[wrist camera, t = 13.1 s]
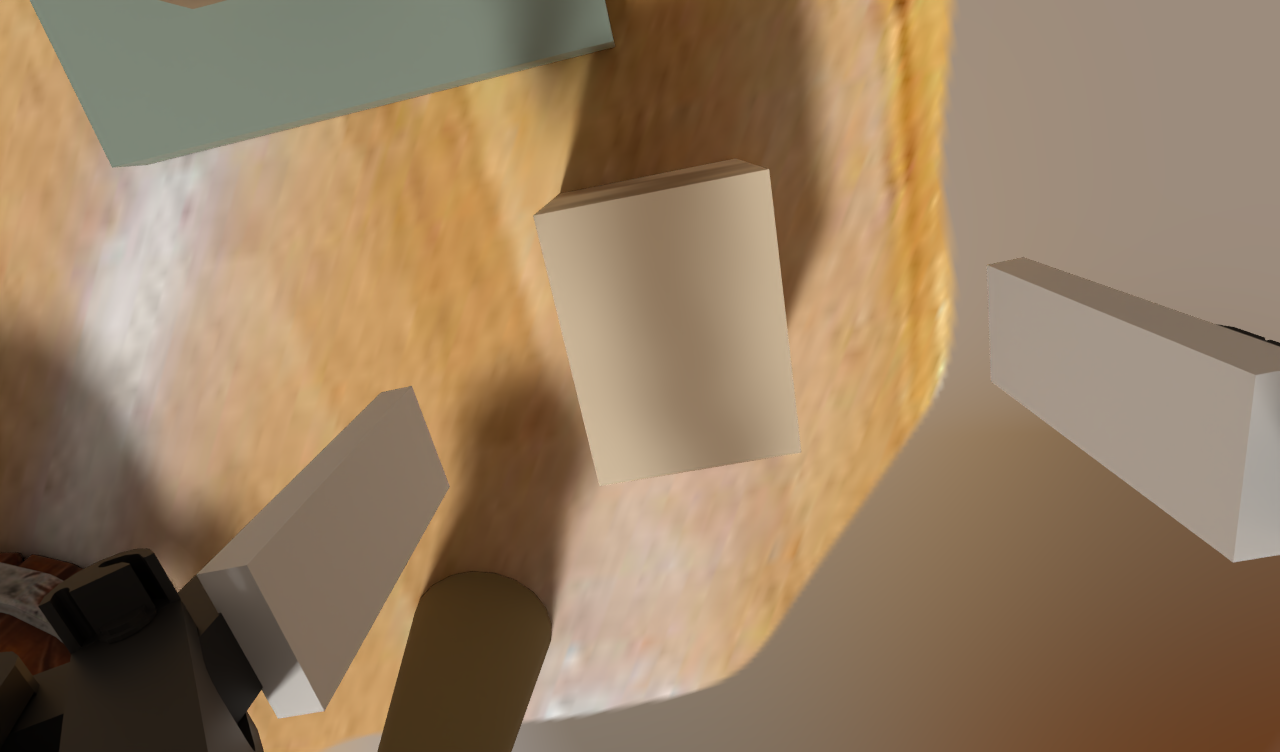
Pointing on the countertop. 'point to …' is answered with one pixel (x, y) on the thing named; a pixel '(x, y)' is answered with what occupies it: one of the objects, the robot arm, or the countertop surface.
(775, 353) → the maple cap block
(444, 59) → the baseplate
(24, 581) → the mug
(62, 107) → the countertop surface
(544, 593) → the countertop surface
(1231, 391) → the robot arm
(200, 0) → the walnut brick
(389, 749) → the olive pepper shaker
